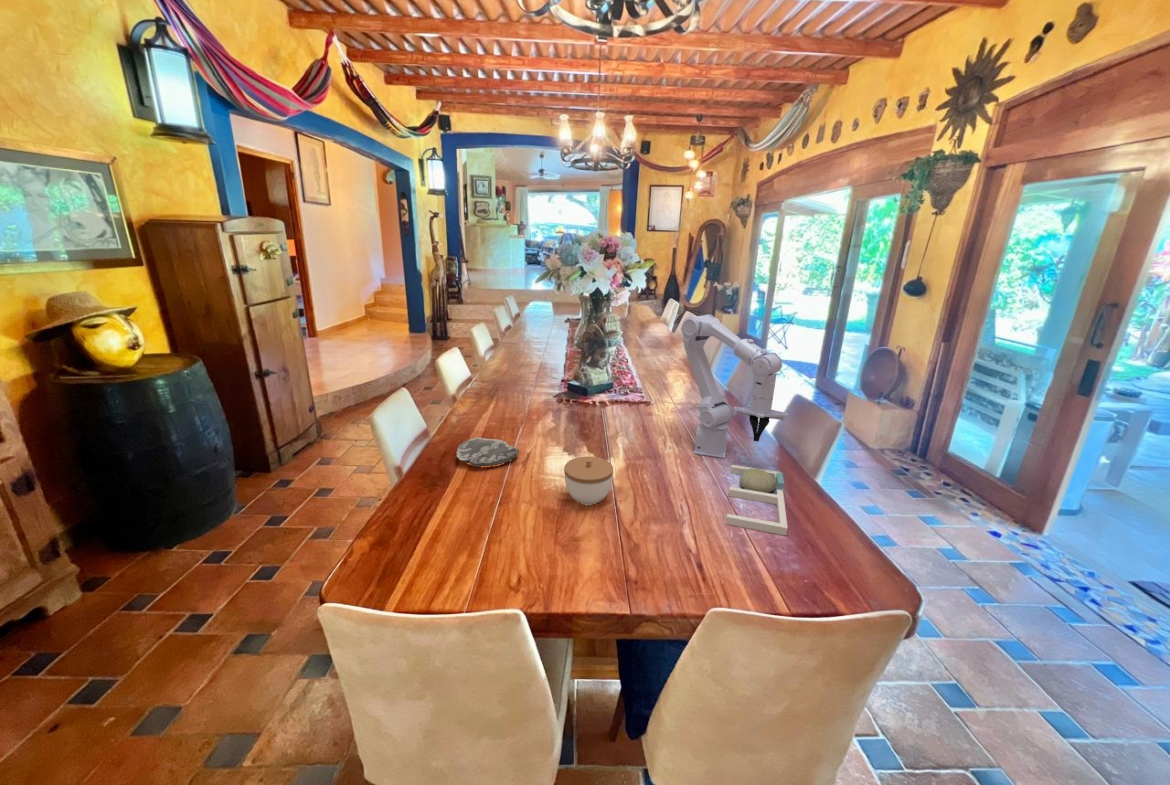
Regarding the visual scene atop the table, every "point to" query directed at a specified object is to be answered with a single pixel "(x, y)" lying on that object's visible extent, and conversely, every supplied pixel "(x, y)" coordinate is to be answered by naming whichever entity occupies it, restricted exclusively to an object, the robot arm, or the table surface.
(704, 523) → the table surface
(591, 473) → the lidded bowl
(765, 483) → the sea urchin shell
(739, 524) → the comb rack
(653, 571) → the table surface
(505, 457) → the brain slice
